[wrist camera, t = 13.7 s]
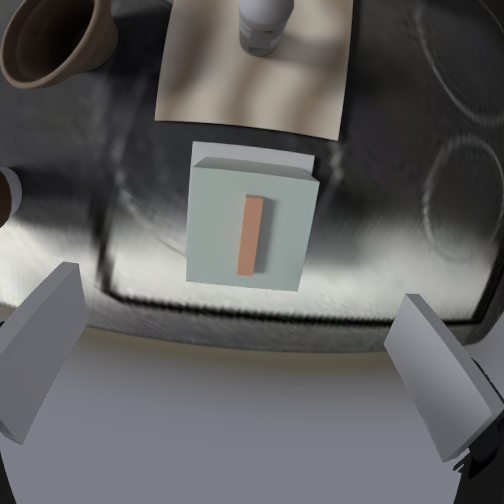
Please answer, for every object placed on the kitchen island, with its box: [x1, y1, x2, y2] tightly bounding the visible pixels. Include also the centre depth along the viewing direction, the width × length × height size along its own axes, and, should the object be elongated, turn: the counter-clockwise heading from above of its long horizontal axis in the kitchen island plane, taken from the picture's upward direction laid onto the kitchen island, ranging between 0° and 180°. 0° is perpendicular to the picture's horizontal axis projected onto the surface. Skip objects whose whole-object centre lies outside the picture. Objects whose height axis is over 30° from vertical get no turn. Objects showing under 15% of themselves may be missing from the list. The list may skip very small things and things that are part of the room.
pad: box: [186, 141, 315, 254], centre depth 30 cm, size 12×12×1 cm
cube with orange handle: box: [186, 156, 320, 291], centre depth 26 cm, size 9×9×9 cm
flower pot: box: [0, 0, 118, 89], centre depth 18 cm, size 12×11×10 cm
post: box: [155, 0, 353, 141], centre depth 19 cm, size 18×18×11 cm
